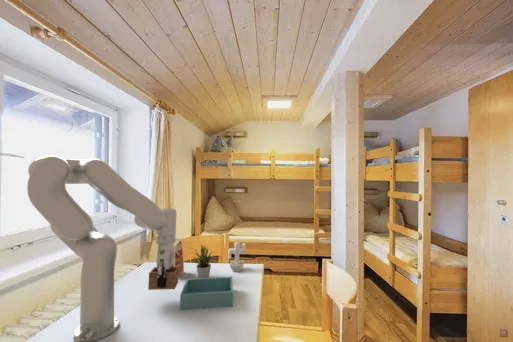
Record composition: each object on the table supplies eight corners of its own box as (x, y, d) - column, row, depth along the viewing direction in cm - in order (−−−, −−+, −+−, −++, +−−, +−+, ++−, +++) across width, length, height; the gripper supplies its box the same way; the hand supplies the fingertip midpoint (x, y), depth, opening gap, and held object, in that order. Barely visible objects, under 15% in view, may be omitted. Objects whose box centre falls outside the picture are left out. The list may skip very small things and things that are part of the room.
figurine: (228, 267, 139) (228, 240, 140) (245, 267, 140) (245, 240, 140) (227, 272, 132) (227, 244, 133) (245, 272, 133) (245, 243, 133)
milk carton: (160, 277, 126) (160, 237, 127) (171, 270, 135) (171, 233, 135) (175, 279, 123) (175, 238, 124) (186, 272, 132) (186, 234, 133)
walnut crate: (174, 289, 98) (175, 272, 99) (148, 289, 97) (149, 272, 98) (178, 282, 105) (178, 266, 105) (153, 283, 104) (154, 267, 104)
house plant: (185, 274, 129) (185, 243, 130) (211, 270, 135) (211, 240, 136) (191, 285, 116) (191, 250, 117) (219, 279, 123) (219, 246, 123)
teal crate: (232, 307, 97) (232, 292, 97) (180, 310, 95) (180, 295, 95) (232, 290, 112) (232, 276, 112) (186, 292, 110) (186, 279, 110)
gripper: (170, 243, 94) (168, 292, 93) (179, 234, 111) (177, 275, 110) (149, 244, 93) (147, 293, 92) (161, 234, 110) (160, 276, 109)
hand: (163, 283), depth 101 cm, fingers closed on walnut crate, 6 cm apart
